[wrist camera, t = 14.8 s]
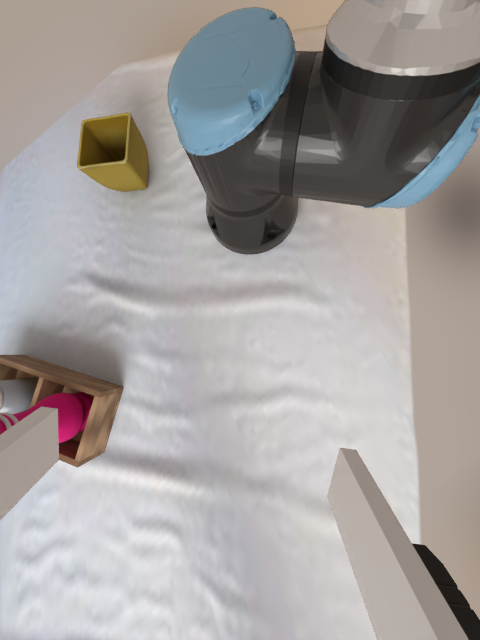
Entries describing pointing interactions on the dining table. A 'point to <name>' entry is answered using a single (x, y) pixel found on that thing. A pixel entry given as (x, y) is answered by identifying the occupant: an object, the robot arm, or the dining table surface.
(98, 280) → the dining table surface
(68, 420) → the pepper mill
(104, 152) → the flower pot
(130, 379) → the dining table surface
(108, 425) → the caddy
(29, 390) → the salt jar
